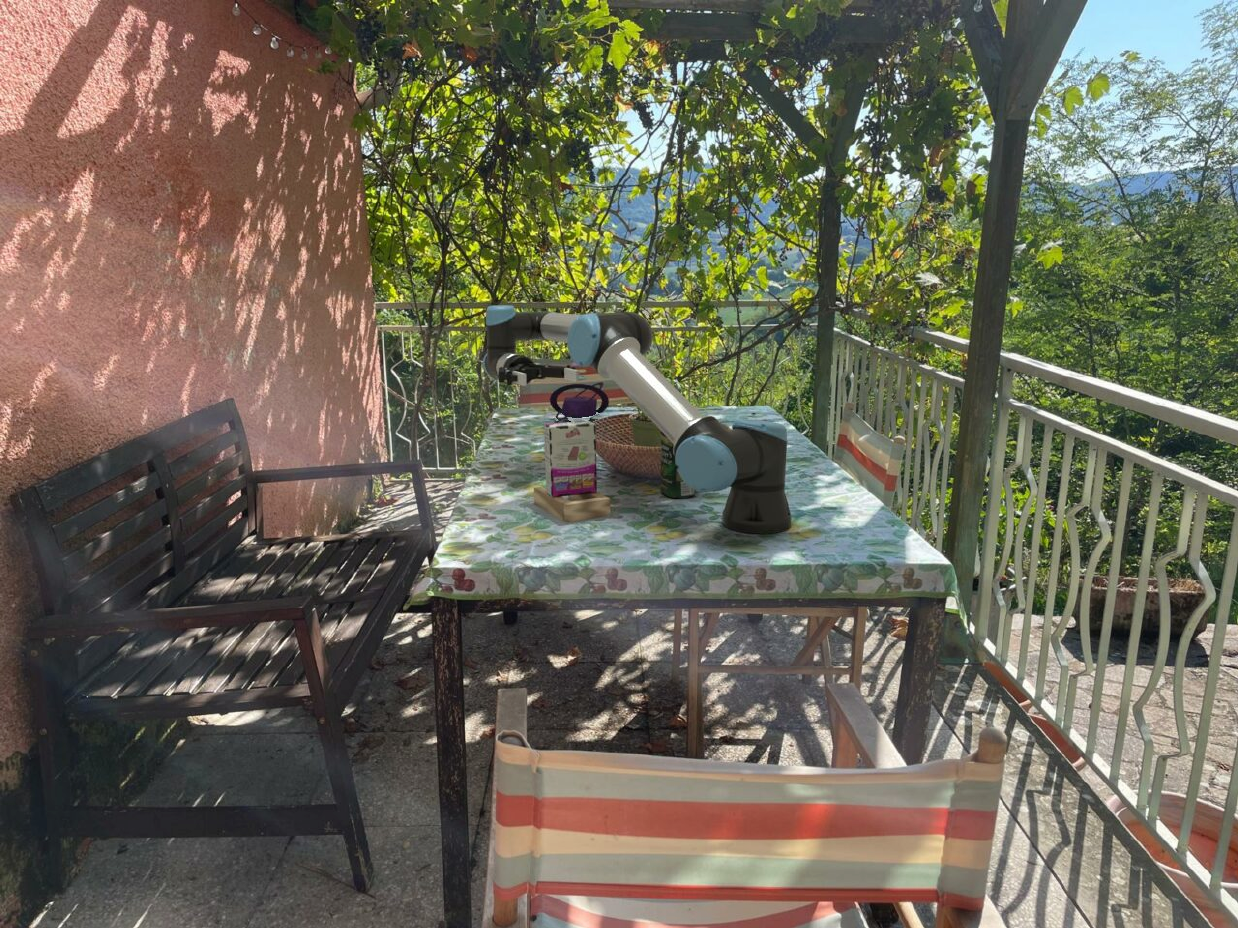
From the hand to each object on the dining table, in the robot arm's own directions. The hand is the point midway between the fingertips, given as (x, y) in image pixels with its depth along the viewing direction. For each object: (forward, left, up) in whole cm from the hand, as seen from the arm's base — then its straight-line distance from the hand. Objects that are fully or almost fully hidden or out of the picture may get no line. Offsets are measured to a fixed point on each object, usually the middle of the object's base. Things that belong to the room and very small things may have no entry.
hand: (551, 378), depth 198 cm
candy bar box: (0, +9, -26) cm, 27 cm away
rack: (0, +10, -30) cm, 31 cm away
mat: (0, +10, -30) cm, 32 cm away
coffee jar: (-30, +9, -30) cm, 43 cm away
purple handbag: (-56, -96, -30) cm, 115 cm away
